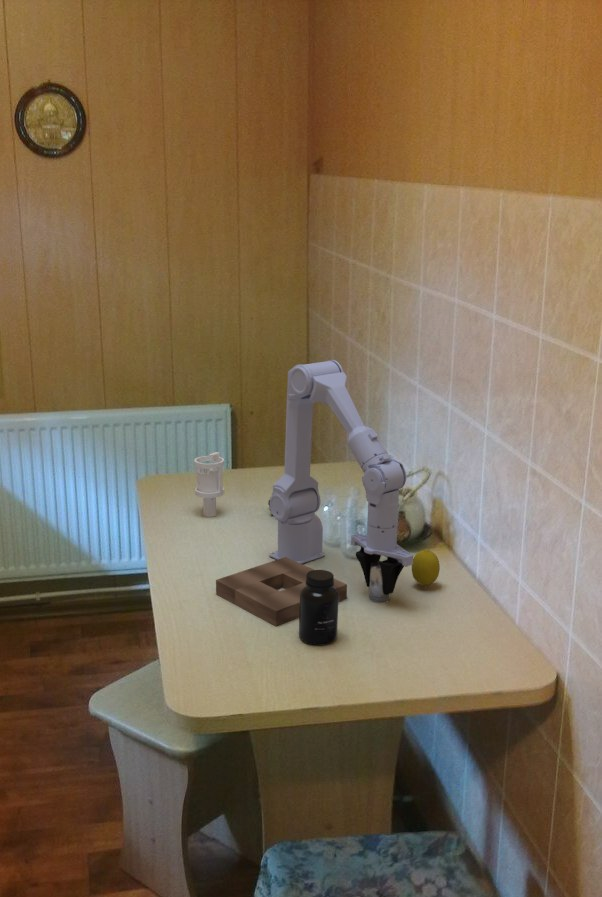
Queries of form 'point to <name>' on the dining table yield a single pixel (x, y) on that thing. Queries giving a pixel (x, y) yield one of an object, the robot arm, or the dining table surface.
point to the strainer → (209, 481)
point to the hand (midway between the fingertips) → (379, 589)
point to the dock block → (270, 589)
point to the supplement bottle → (318, 608)
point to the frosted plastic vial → (377, 584)
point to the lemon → (425, 567)
